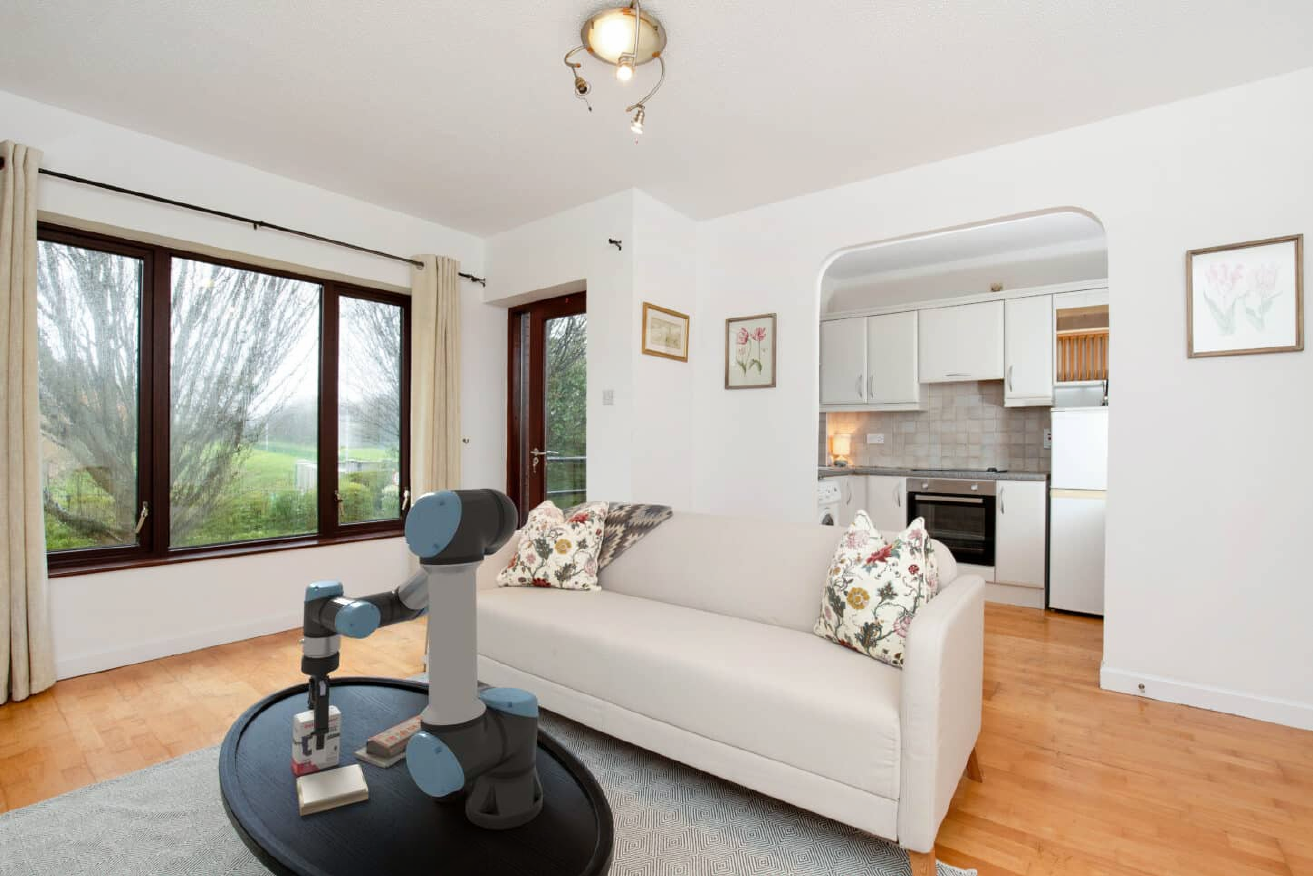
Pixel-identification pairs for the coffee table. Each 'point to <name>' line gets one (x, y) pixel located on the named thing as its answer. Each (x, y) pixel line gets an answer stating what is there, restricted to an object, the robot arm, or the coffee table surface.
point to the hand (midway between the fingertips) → (315, 750)
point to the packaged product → (389, 744)
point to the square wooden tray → (331, 789)
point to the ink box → (304, 741)
